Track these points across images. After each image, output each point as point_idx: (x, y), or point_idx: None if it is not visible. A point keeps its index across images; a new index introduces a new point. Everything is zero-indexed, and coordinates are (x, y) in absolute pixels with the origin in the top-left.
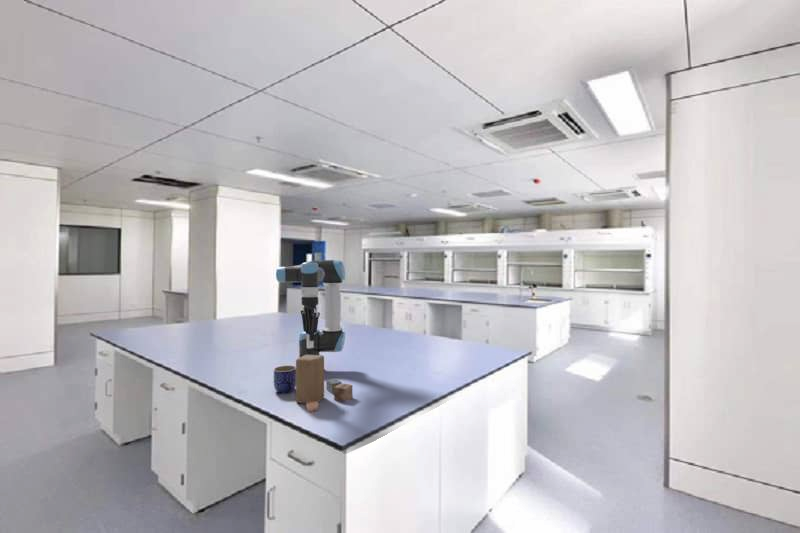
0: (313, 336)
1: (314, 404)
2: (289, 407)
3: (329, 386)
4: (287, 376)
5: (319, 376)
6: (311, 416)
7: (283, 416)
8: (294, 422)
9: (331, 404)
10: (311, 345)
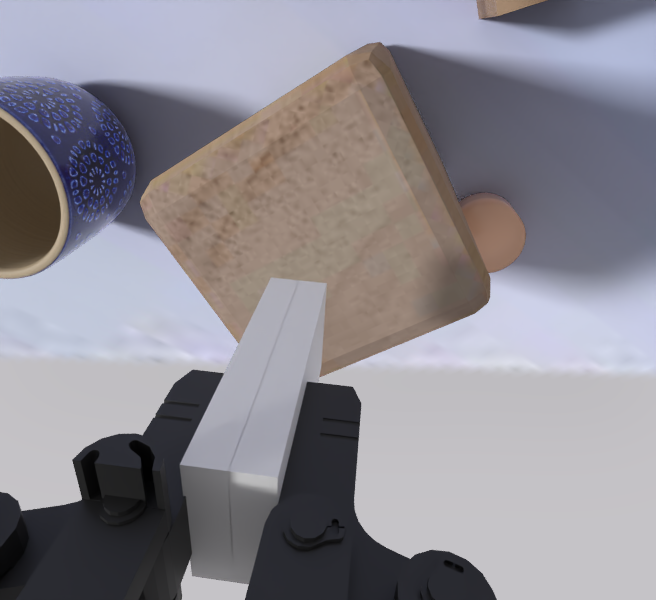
0: (355, 463)
1: (517, 248)
2: None
3: None
4: (94, 213)
5: (439, 162)
6: (547, 284)
7: (424, 359)
8: (525, 367)
9: (523, 94)
10: (318, 340)
